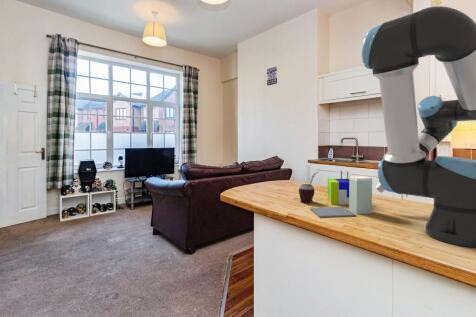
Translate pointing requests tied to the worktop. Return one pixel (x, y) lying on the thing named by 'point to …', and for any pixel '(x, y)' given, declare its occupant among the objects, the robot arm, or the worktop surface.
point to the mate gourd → (307, 192)
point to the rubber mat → (332, 212)
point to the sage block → (360, 194)
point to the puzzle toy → (338, 191)
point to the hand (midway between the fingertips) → (378, 189)
